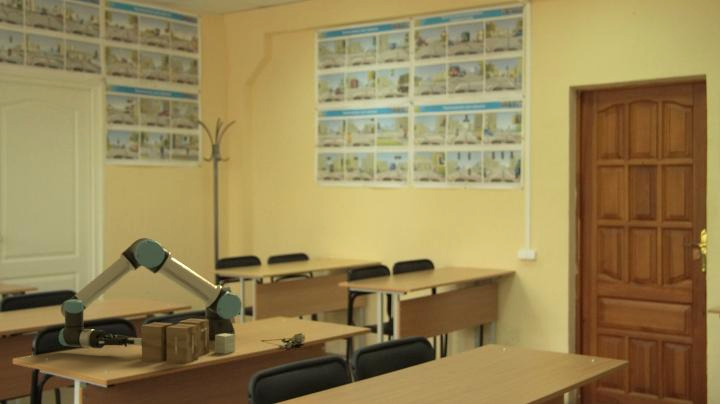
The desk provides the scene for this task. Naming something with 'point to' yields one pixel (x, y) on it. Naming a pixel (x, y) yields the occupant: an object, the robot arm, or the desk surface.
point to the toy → (291, 341)
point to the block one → (182, 343)
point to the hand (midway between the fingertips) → (142, 342)
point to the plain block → (154, 341)
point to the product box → (224, 343)
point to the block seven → (200, 334)
